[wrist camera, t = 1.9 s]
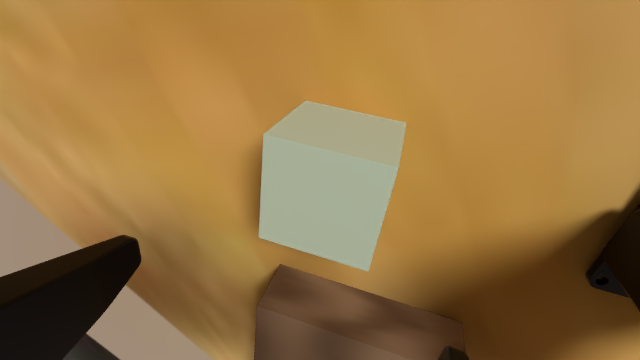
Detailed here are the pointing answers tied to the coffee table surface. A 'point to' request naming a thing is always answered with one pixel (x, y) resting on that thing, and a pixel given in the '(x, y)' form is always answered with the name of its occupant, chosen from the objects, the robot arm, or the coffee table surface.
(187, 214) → the coffee table surface
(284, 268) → the walnut block
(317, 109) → the sage cube
